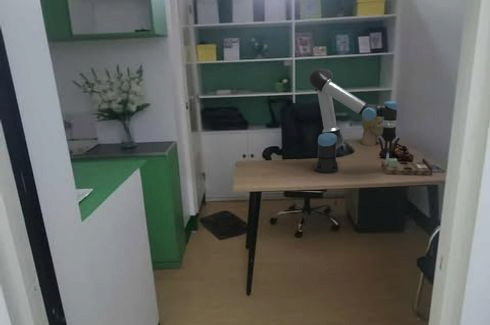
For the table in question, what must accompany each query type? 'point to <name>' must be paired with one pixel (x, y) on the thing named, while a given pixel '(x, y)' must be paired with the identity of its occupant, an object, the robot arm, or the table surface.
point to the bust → (372, 130)
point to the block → (392, 162)
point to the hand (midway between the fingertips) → (387, 163)
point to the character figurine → (399, 154)
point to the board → (408, 168)
